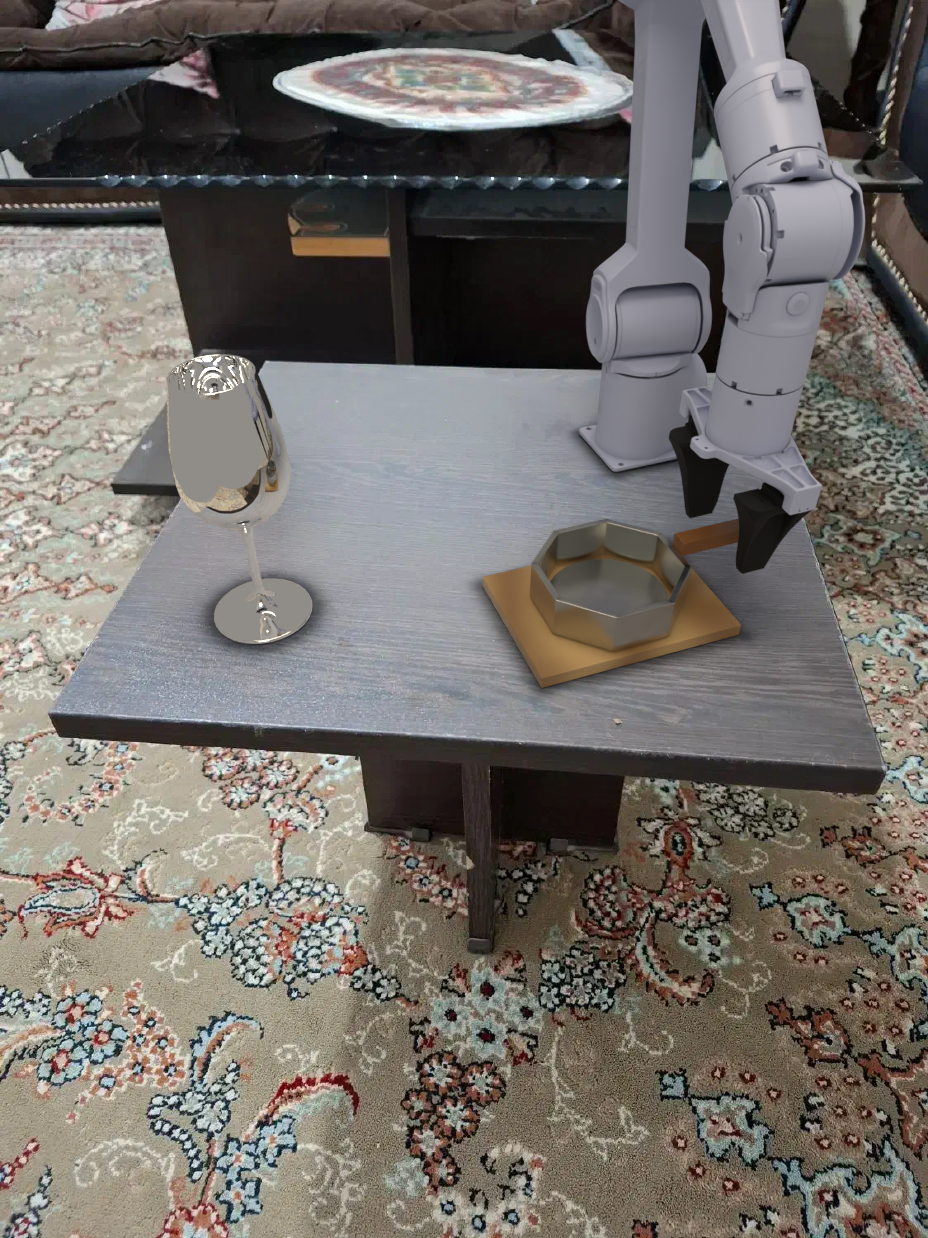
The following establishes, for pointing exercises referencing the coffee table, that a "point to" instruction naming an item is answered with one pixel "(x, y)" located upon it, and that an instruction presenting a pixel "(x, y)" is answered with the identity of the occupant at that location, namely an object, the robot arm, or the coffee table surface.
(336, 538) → the coffee table surface
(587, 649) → the cutting board
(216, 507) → the wineglass
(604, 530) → the saucepan
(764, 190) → the robot arm
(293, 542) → the coffee table surface
